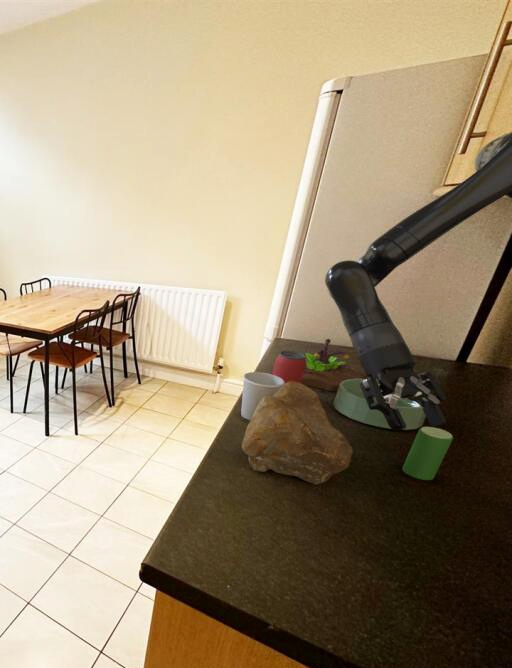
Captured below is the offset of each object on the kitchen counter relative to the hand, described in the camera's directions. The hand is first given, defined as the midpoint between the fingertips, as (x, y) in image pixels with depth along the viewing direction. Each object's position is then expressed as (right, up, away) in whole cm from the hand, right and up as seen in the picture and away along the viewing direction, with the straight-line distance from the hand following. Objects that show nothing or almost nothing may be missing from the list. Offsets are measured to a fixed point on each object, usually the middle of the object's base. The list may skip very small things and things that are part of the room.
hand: (419, 427), depth 77 cm
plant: (+14, +10, +43) cm, 46 cm away
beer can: (-4, +4, +32) cm, 33 cm away
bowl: (+11, +1, +22) cm, 25 cm away
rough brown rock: (-22, -8, +4) cm, 23 cm away
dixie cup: (-17, 0, +23) cm, 29 cm away
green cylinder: (+1, -9, +1) cm, 9 cm away
